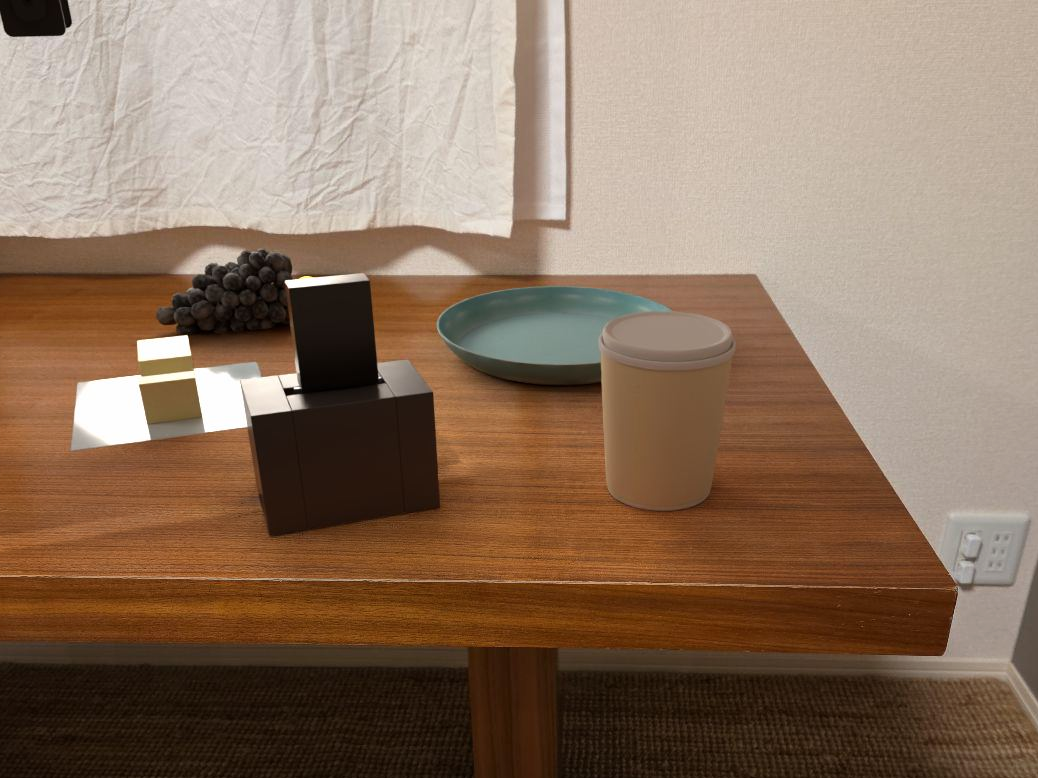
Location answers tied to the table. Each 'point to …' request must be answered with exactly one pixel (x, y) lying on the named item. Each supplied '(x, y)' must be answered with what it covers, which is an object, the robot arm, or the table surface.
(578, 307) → the teal plate
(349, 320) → the knife
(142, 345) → the butter
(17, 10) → the robot arm
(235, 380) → the butter dish
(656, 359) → the coffee cup
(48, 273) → the table surface
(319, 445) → the stand
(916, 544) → the table surface
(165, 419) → the tan square block
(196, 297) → the fruit
